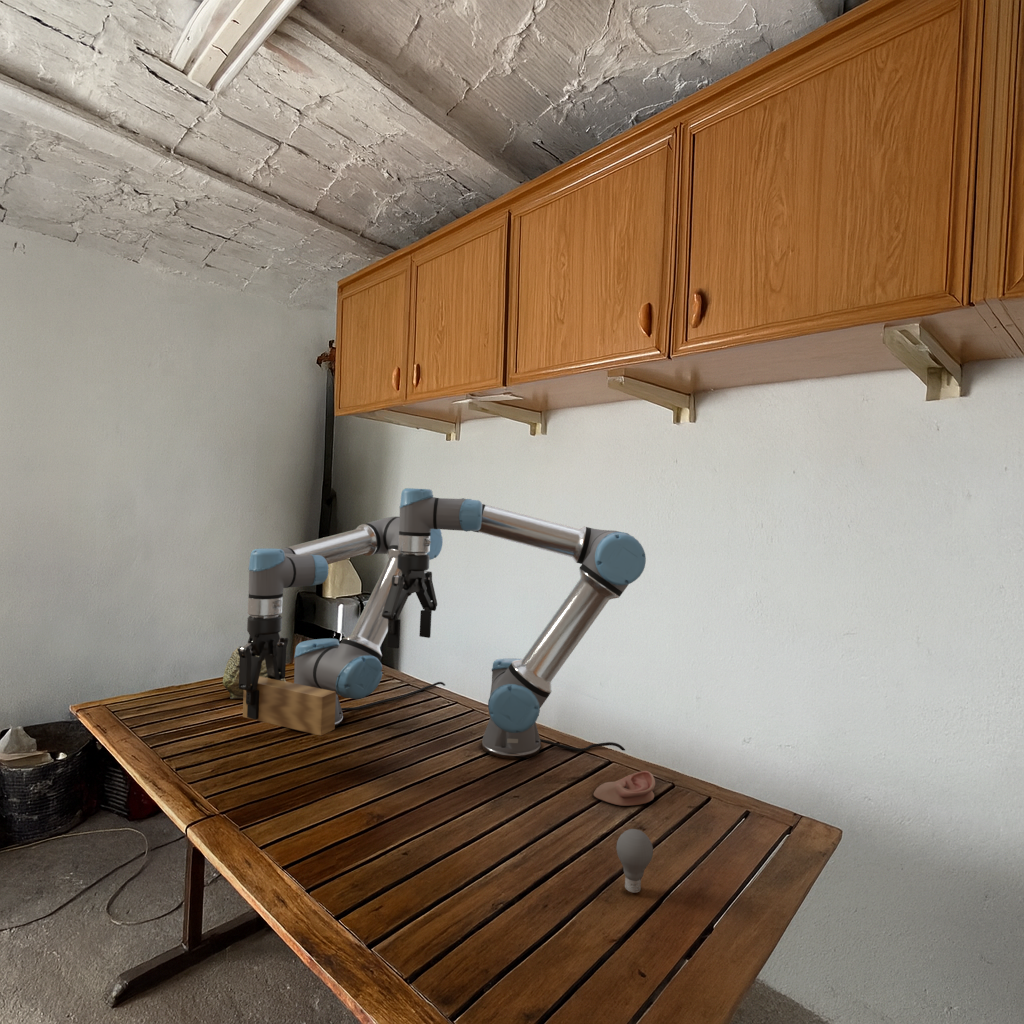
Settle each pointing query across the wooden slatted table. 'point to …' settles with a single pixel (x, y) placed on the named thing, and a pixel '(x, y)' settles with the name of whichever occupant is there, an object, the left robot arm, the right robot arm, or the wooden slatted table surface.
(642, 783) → the anatomical model
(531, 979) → the wooden slatted table surface
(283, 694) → the bar
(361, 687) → the left robot arm
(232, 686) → the fossil
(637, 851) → the light bulb
